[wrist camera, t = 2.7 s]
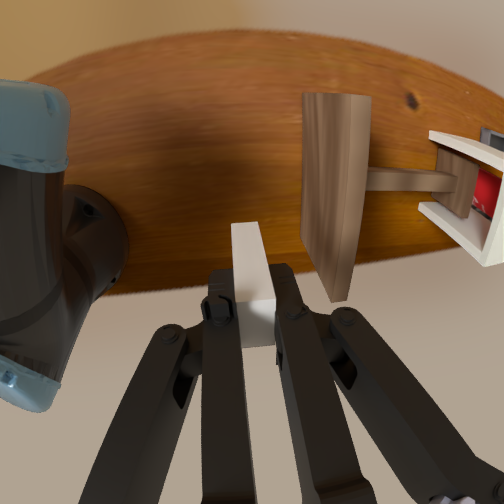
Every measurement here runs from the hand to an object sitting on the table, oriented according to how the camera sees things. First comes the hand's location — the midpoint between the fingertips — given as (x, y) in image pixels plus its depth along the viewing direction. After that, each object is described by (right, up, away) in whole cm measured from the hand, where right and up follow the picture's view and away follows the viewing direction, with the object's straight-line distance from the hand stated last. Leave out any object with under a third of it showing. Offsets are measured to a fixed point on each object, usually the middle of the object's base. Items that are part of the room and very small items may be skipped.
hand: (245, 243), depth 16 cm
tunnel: (+28, +11, +15) cm, 33 cm away
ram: (+16, +9, +14) cm, 23 cm away
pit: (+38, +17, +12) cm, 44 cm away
